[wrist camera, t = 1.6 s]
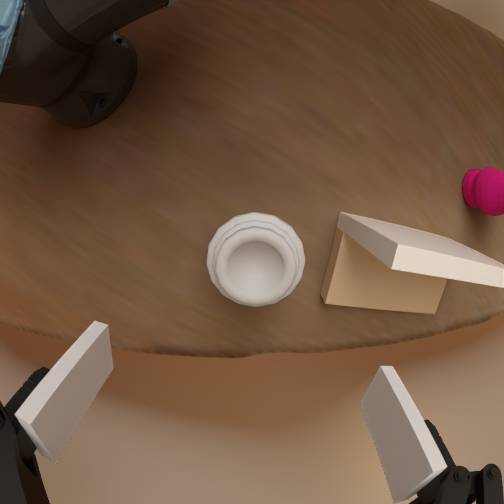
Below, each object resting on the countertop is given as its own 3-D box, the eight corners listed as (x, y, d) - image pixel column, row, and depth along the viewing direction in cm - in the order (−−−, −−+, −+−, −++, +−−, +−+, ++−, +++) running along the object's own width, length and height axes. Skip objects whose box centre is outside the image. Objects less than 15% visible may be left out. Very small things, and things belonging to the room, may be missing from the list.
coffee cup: (257, 283, 37) (257, 333, 25) (205, 238, 35) (181, 270, 24) (306, 235, 35) (330, 267, 23) (254, 185, 33) (253, 192, 22)
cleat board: (339, 211, 34) (398, 243, 19) (447, 237, 34) (518, 272, 19) (320, 293, 37) (354, 367, 22) (425, 305, 38) (481, 360, 22)
